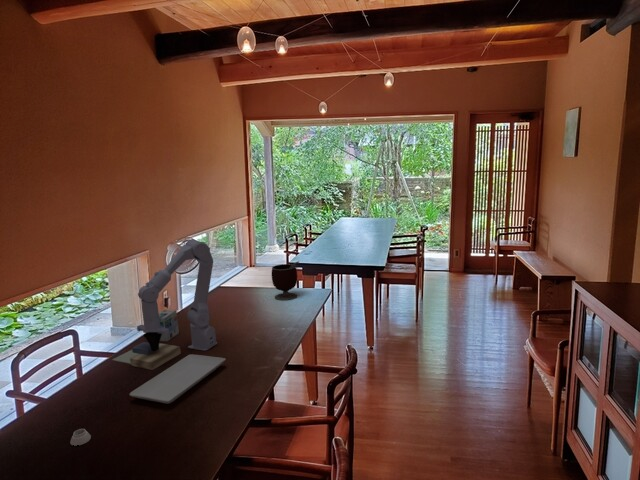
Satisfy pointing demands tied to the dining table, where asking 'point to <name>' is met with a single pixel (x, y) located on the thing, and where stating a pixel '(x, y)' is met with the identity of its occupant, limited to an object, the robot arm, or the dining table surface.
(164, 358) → the deck
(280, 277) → the mate gourd
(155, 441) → the dining table surface
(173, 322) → the light bulb box
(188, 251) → the robot arm
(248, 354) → the dining table surface
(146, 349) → the blue-grey flat block
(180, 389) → the tray
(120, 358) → the mat
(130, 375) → the dining table surface
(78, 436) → the lidless jar
